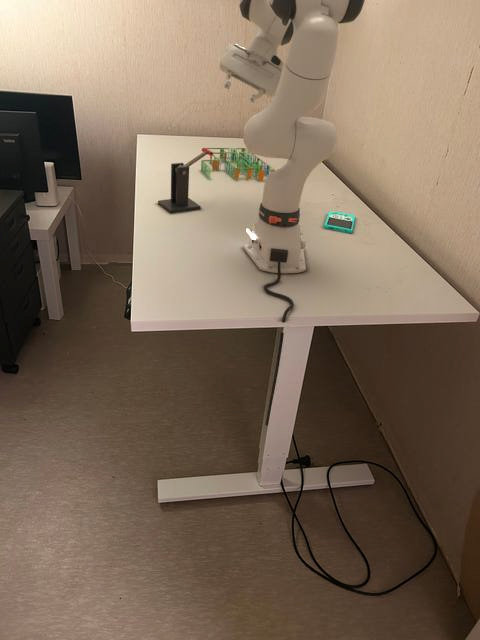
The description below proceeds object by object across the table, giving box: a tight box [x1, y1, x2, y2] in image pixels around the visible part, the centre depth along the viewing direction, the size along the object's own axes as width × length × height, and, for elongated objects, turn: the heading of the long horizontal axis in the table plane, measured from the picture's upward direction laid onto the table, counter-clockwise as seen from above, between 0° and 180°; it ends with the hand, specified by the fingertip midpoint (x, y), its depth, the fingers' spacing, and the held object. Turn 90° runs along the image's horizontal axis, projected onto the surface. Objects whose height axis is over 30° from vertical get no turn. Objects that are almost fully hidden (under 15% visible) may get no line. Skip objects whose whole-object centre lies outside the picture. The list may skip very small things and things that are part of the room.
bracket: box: [157, 162, 201, 214], centre depth 163 cm, size 12×10×15 cm
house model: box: [200, 147, 276, 181], centre depth 211 cm, size 35×30×5 cm
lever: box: [174, 147, 214, 174], centre depth 161 cm, size 14×5×2 cm, turn 124°
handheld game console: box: [323, 211, 356, 234], centre depth 169 cm, size 10×16×1 cm, turn 164°
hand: (239, 94), depth 148 cm, fingers open, 8 cm apart
